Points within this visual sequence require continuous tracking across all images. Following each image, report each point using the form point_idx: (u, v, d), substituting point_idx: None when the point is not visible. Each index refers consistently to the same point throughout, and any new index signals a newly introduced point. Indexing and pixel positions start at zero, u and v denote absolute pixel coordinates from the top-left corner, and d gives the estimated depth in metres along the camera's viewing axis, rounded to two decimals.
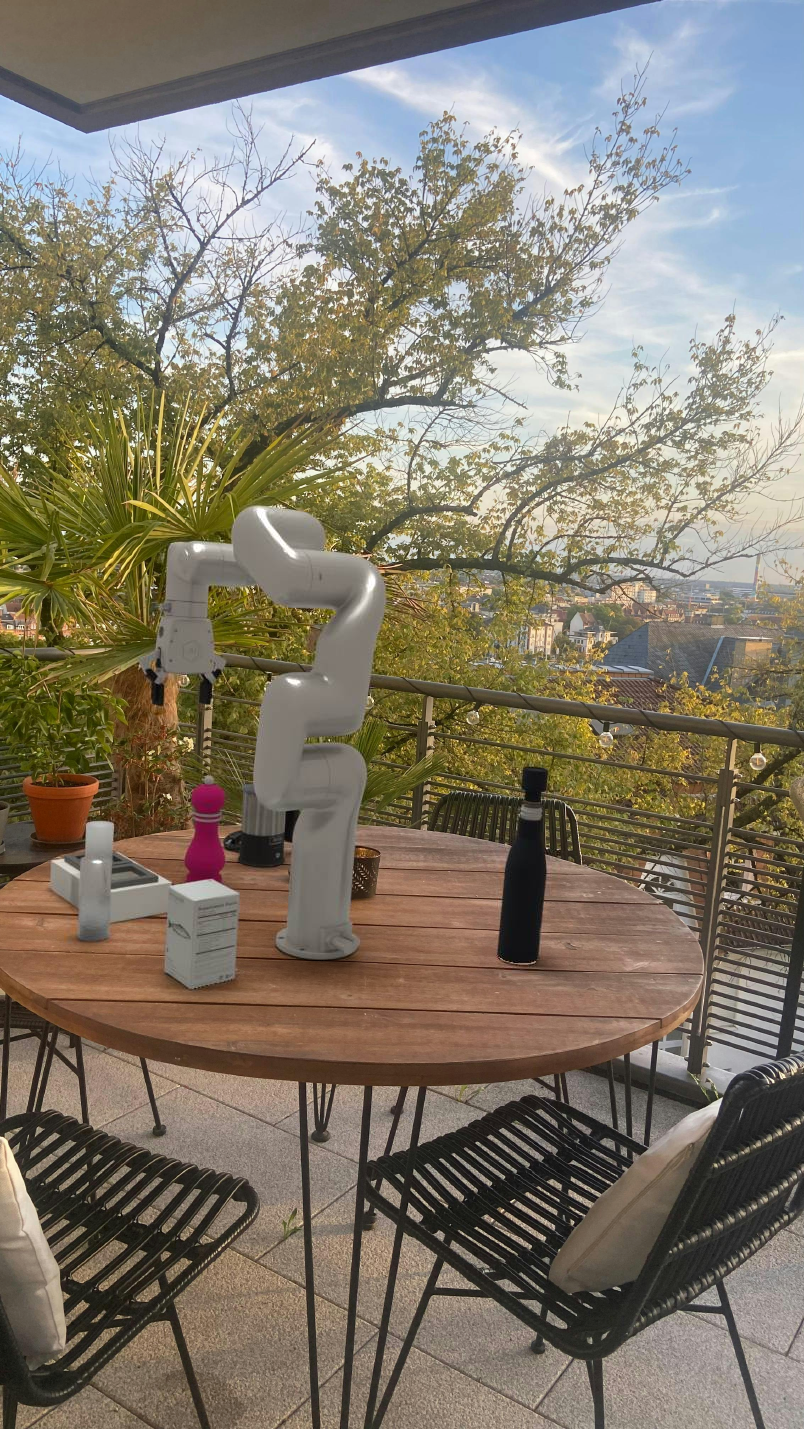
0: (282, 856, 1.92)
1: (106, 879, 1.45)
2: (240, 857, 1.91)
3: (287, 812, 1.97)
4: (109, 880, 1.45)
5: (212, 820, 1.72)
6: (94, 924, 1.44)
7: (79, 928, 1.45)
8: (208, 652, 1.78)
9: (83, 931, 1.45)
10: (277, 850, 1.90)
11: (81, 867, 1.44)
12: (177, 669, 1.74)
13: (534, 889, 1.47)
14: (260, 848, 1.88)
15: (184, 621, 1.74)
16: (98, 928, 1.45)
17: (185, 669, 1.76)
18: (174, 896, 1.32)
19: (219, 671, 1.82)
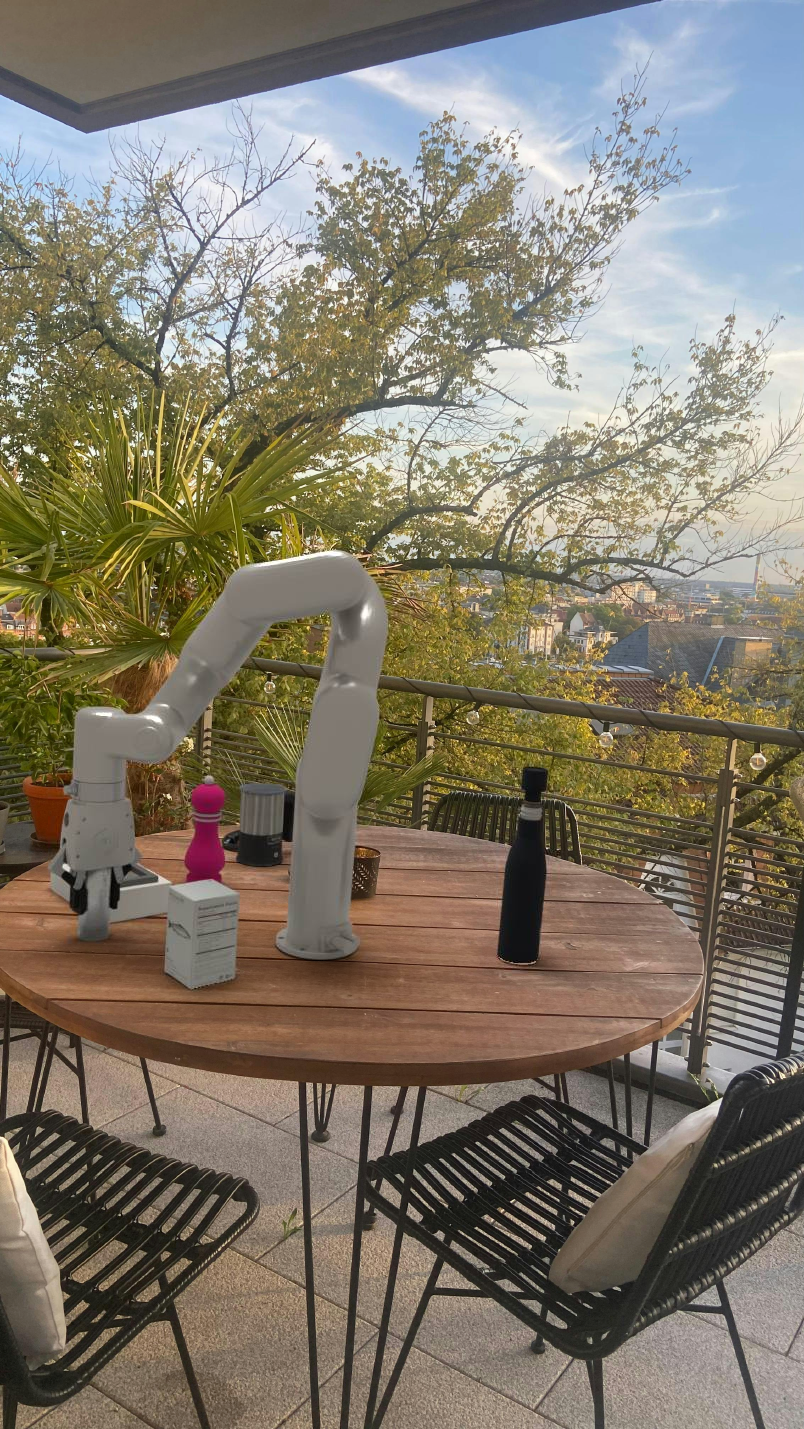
0: (280, 855, 1.92)
1: (105, 879, 1.45)
2: (238, 857, 1.91)
3: (285, 812, 1.98)
4: (109, 880, 1.45)
5: (212, 820, 1.72)
6: (94, 924, 1.44)
7: (79, 928, 1.45)
8: (127, 839, 1.45)
9: (83, 931, 1.45)
10: (275, 850, 1.90)
11: None
12: (86, 866, 1.41)
13: (534, 889, 1.47)
14: (258, 847, 1.88)
15: (95, 807, 1.41)
16: (98, 928, 1.45)
17: (97, 864, 1.43)
18: (175, 896, 1.32)
19: (128, 866, 1.48)
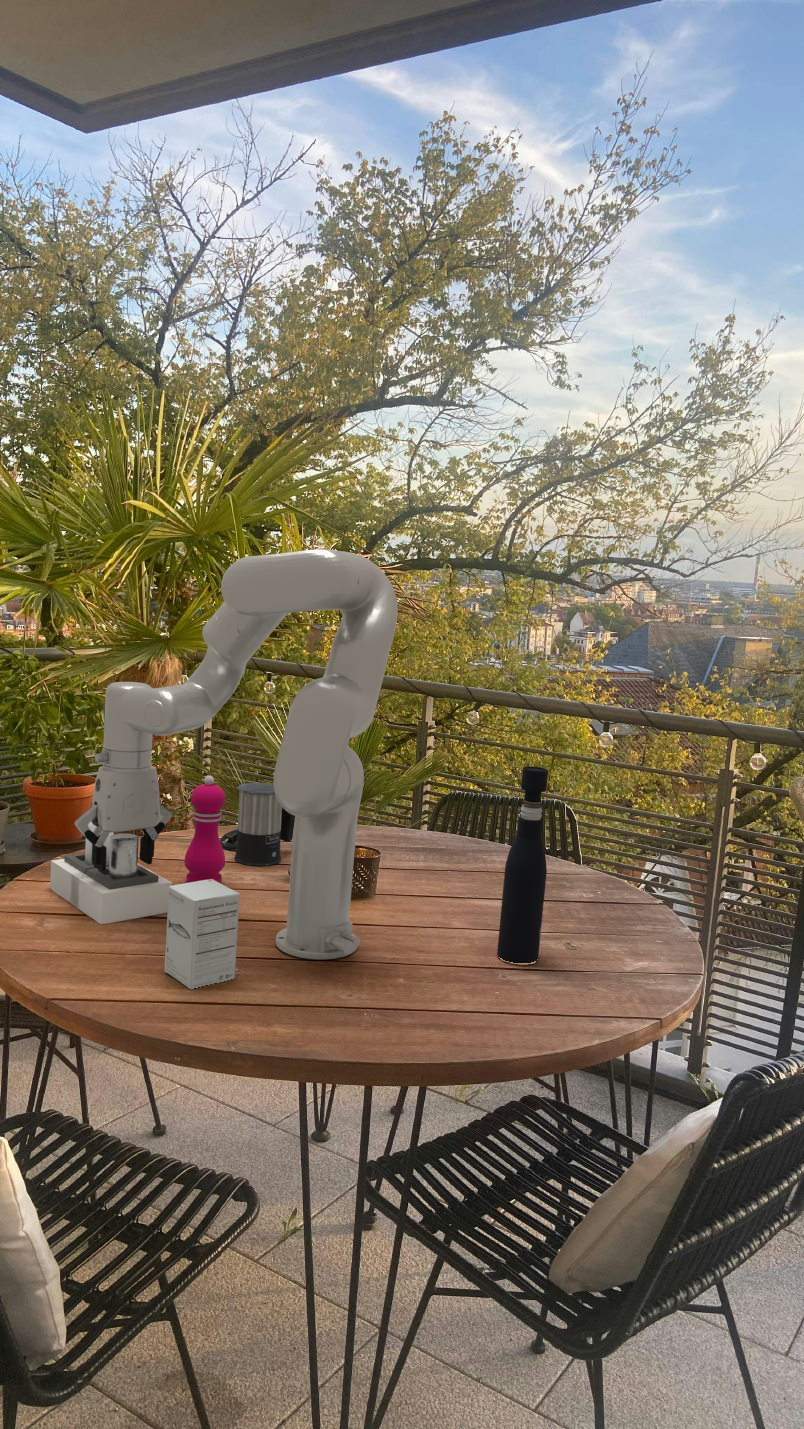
0: (278, 855, 1.92)
1: (133, 855, 1.57)
2: (236, 856, 1.91)
3: (283, 811, 1.98)
4: (136, 856, 1.58)
5: (212, 820, 1.72)
6: None
7: None
8: (153, 804, 1.58)
9: None
10: (273, 849, 1.90)
11: (110, 844, 1.57)
12: (116, 827, 1.54)
13: (534, 889, 1.47)
14: (256, 847, 1.88)
15: (124, 773, 1.54)
16: None
17: (126, 826, 1.55)
18: (175, 896, 1.32)
19: (162, 825, 1.62)
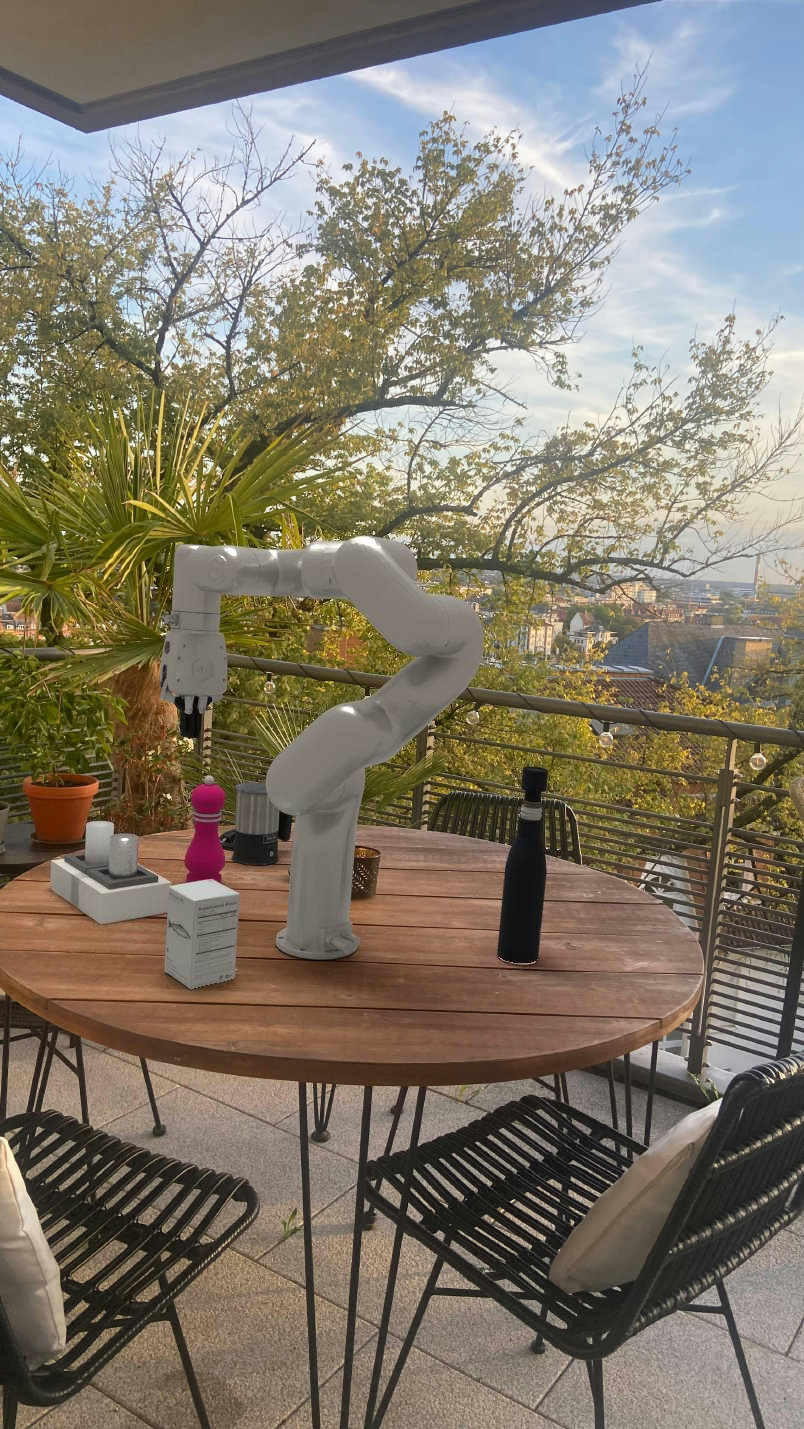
0: (276, 855, 1.92)
1: (133, 855, 1.57)
2: (234, 856, 1.91)
3: None
4: (136, 856, 1.58)
5: (212, 820, 1.72)
6: None
7: None
8: (221, 670, 1.56)
9: None
10: (271, 849, 1.90)
11: (110, 844, 1.57)
12: (185, 690, 1.52)
13: (534, 889, 1.47)
14: (253, 846, 1.89)
15: (193, 635, 1.52)
16: None
17: (194, 690, 1.54)
18: (175, 896, 1.32)
19: (209, 699, 1.58)
